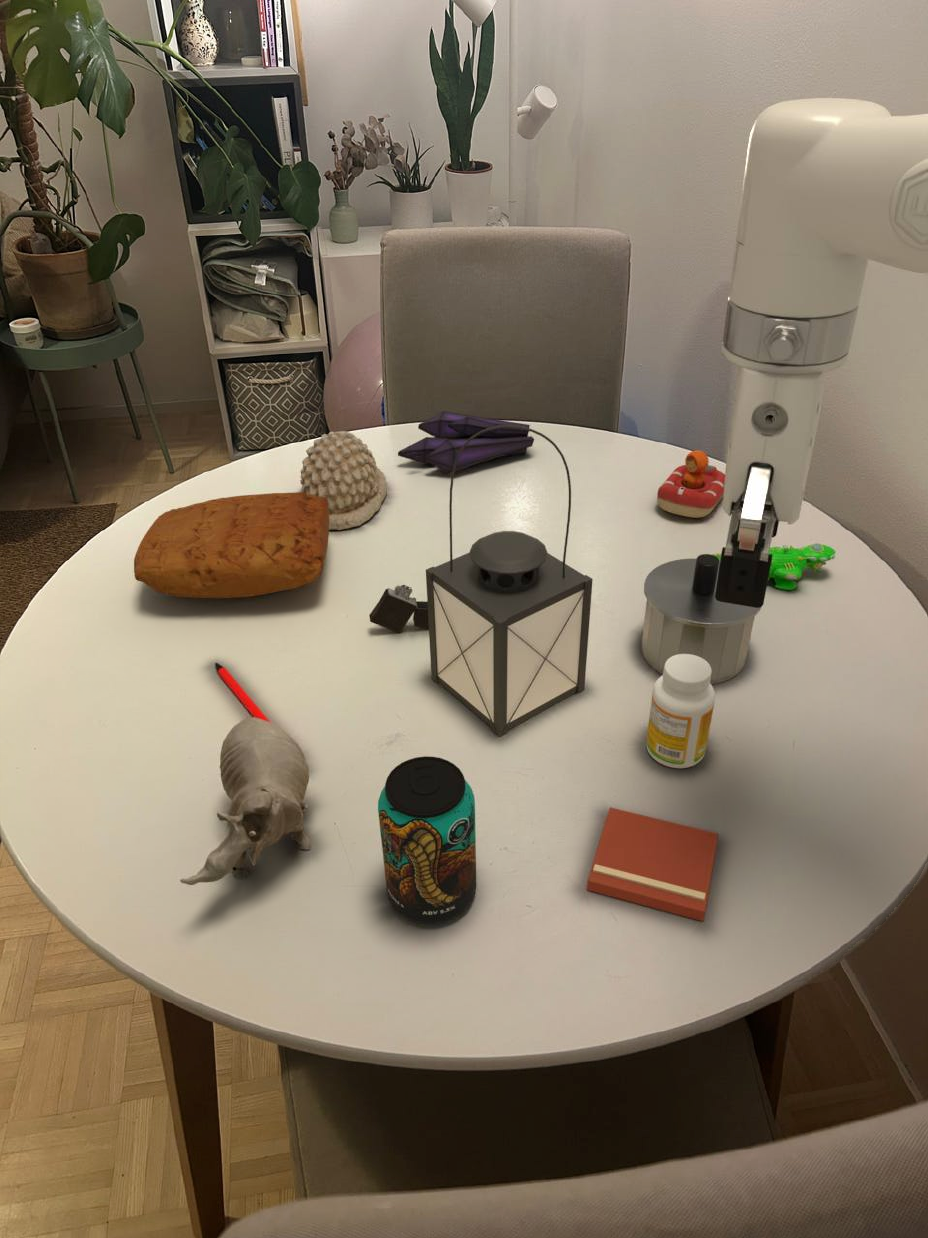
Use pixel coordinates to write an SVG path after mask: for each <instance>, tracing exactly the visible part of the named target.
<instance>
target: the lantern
mask: <svg viewBox="0 0 928 1238" xmlns="http://www.w3.org/2000/svg"><path fill="white" fill-rule="evenodd" d="M498 428H517V429H523V430H527V431H529V432H530V433H534V434H535V435H537V436H540V437H542V438H544V439H545V440H546V441H547V442H549V443H550V444H551V445H552V446H553V447H554V448H555V450H556V451H557V452H558V454H559V455H560V457H561V459H562V462H563V465H564V467H565V471H566V476H567V477H566V478H567V485H568V509H567V520H566V521H567V522H566V531H565V539H564V547H563V555H562V557H563V559H562V560H560V559H559V558H557V557H555V556H553V555H552V554H550V553H548V550H547V547H546V545H545V544H544V543H543V542H542V541H541V540H540V539H538V538H536V537H534V536H532V535H529V534H527V533H525V532H521V531H516V530H501V531H497V532H496V531H495V532H492V533H490V534H487V535H484V536H483V537H480V538H479V539H478V540H476V541H475V542H474V543H473V544H472V545H471V547H470V550H469V552H467V553H464V554H462V555H460V556H458V557H455V558H453V519H452V518H453V512H452V511H453V508H452V507H453V488H454V487H453V486H454V475H455V472H456V471H455V468H456V463H457V461H458V459H459V457H460V454H461V452H462V450H463V449H464V447H465V446H466V445H467V444H468V443H469V442H470V441H471V440H472V439H473V438H475V437H476V436H478V435H480V434H481V433H483V432H486V431H490V430H493V429H498ZM450 476H451V477H450V485H449V507H448V508H449V509H448V510H449V557H450V558H449V560H448V561H445V562H443V563H441V564H439V565H436V566H431V567H429V568H426V569H425V578H426V579H425V583H426V584H425V585H426V599H427V601H426V602H427V603H428V622H429V629H428V639H429V655H430V656H429V657H430V675H431V677H430V678H431V680H432V681H433V682H434V683H436V684H439V685H440V686H441V687H443V688H444V690H446V691H447V692H448V693H450V695H452V696H453V697H454V698H455V699H457V700H458V701H459V702H460V703H461V704H463V705H464V706H465V707H466V708H467V709H468V710H470V711H471V712H472V713H473V714H474V715H476V716H477V717H478V718H479V719H481V721H483V722H484V723H485V724H486V725H488V727H489V728H491V729H492V730H493V733H494V734H496V735H497V737H502V736H504V735H505V734H507V733H508V731H510V730H512V729H513V728H515V727H517V726H518V725H520V724H522V723H524V722H526V721H527V720H529V719H531V718H533V717H534V716H536V715H538V714H540V713H542V712H544V711H545V710H547V709H549V708H552V707H553V706H555V705H557V704H558V703H560V702H562V701H564V700H565V699H567V698H569V697H571V696H572V695H575V694H576V693H577V694H579V693H580V692H582V691H584V690H585V687H586V686H585V685H586V673H587V659H588V649H589V648H588V647H589V631H590V621H591V607H592V605H591V604H592V593H593V592H592V591H593V580H594V579H593V578H592V577H591V576H589V575H587V574H583V573H581V572H579V571H578V570H577V569H575V568H573V567H571V566H570V565H568V564H567V563H566V558H567V557H566V555H567V546H568V538H569V533H570V531H569V530H570V522H571V510H572V483H571V476H570V470H569V466H568V464H567V461H566V458H565V456H564V454H563V452H562V450H560V448H559V446H558V445H557V444H556V443H555V442H554V441H553V440H552V439H550V438H549V437H548V436H546V435H545V434H543V433H541V432H539V431H537V430H535V429H533V428H530V427H529V428H526V427H520V426H512V425H508V426H495V427H492V428H488V429H485V430H482V431H480V432H478V433H477V434H475V435H473V436H472V437H470V438H469V439H468V440H467V442H466V443H465V444H464V445H463V446H462V447H461V449H460V451H459V453H458V455H457V457H456V459H455V462H454V466H453V471H452V473H451V474H450Z"/></svg>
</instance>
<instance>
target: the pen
mask: <svg viewBox="0 0 928 1238" xmlns="http://www.w3.org/2000/svg"><path fill="white" fill-rule="evenodd" d="M214 666H215V669H216V672H217V674H218V675H219V676H220V678H221V679H222V680H223V681H224V682H225V684H226V685H227V686H228V687H229V688H230V690H231V691H232V692H233V693H234V695H235V696H236V697H237V698H238V699H239V701H240V702H241V703H242V704H243V705H244V707H245V708H246V709H247V710H248V711H249V713H250V714H251V715H252V717H255V718H258V719H262V720H265V721H268V722H270V723H272V722H271V721H270V720H269V718H268V717H267V716H266V715H265V714H264V713H263V711H262V710H261V709H260V708H259V706H258V705H256V703H255V702H254V701H253V699H252V698H251V697H250V696H249V695H248V694H247V692H246V691H245V690H244V689H243V687H242V686H241V685H240V684H239V682H237V680H236V679H235V677H233V676H232V674H231V673H230V671H229V670H228V669H227V668H226V667H224V666H223V665H222V664H219V663H218V662H214Z"/></svg>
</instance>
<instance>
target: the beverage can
mask: <svg viewBox="0 0 928 1238" xmlns="http://www.w3.org/2000/svg"><path fill="white" fill-rule="evenodd" d="M379 794H380V795H379V797H378V801H377V812H378V822H379V831H380V840H381V851H382V858H383V859H382V860H383V867H384V876H385V885H386V893H387V896H388V899H389V902H390V904H391V906H392V907H393V908H394V909H395V910H396V911H397V912H398V913H399V914H400V915H402V916H403V917H405V918H406V919H408V920H411V921H413V922H416V923H421V924H438V923H444V922H447V921H449V920H453V919H454V918H456V917H457V916H459V915H460V914H462V913H463V912H464V911H465V910H466V909H468V907H469V906H470V904H471V903H472V902H473V900H474V897H475V895H476V891H477V886H478V885H477V845H476V844H477V841H476V840H477V839H476V838H477V837H476V836H477V835H476V833H477V832H476V800H475V794H474V791H473V789H472V787H471V786H470V784H469V783H468V781H467V780H466V779H465V776H464V774H463V772H462V771H461V769H460V768H459V767H458V766H457V765H456V764H455V763H453V762H451V761H449V760H447V759H444V758H442V757H438V756H437V757H436V756H428V755H427V756H425V755H424V756H417V757H413V758H410V759H407V760H404V761H403V762H400V763H399V764H398V765H396V766H395V767H394V768H393V769H392V770H391V771H390V773H389V774H388V776H387V777H386V780H385V784H384V786H383V788H382V790H381V791H380V793H379Z"/></svg>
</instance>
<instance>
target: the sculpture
mask: <svg viewBox="0 0 928 1238" xmlns="http://www.w3.org/2000/svg"><path fill="white" fill-rule="evenodd" d="M305 452H306V454H307V456H306V457H305V458H303V460H302V461H301V464H302V468H301V469H300V476H299V477H300V480H299V483H300V485H301V489H300V491H299V492H302V493H304V494H313V495H317V496H318V497H324V498H327V499H328V503H329V531H330V530H337V531H341V530H345V529H351V528H354V527H359V526H361V525H363V524H364V523H365V522H367V521H369V520H370V519H371V518H372V517H373V516H374V514H375V513H376V512H378V511H379V510H380V508H381V506H382V502H383V501H384V500H385V497H386V495H387V489H388V488H387V486H388V484H387V480H386V477H385V474H384V472H383V471H382V470H381V468H379V467H378V466H377V461H376V458H375V457H374V456H373V453H372V451H371V450H370V449H369V447H368V445H367V443H364V442H363V440H362V439H361V438H358V437H356V435H355V434H353V433H352V432H349V431H346V430H341V431H339V430H338V431H330V432H329V433H328V434H326V433H323V434H321V437H320V438H318V439H317V438H316V439H314V440H313V445H312V446H309V447H308V448H307V449H306V450H305Z"/></svg>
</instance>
